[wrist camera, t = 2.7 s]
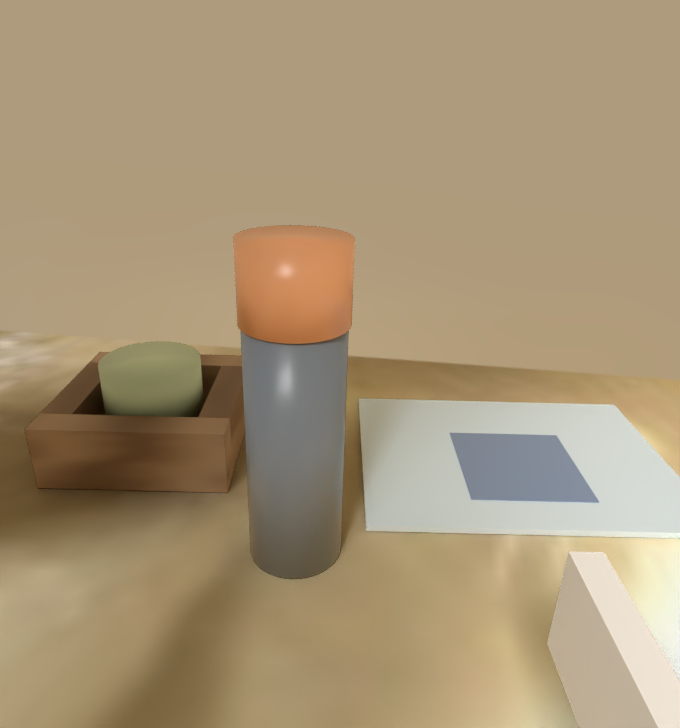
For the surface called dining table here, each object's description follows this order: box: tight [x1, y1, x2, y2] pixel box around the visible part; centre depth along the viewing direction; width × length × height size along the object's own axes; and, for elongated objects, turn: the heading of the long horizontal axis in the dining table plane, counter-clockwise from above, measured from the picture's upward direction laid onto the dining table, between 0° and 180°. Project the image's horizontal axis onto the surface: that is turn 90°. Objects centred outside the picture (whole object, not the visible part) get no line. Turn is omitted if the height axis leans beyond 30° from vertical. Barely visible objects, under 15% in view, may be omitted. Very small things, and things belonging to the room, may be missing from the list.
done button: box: [98, 342, 204, 417], centre depth 31 cm, size 5×5×3 cm
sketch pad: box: [359, 398, 680, 538], centre depth 31 cm, size 16×12×1 cm
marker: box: [233, 225, 355, 579], centre depth 22 cm, size 4×4×13 cm
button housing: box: [25, 352, 245, 493], centre depth 31 cm, size 9×9×3 cm
